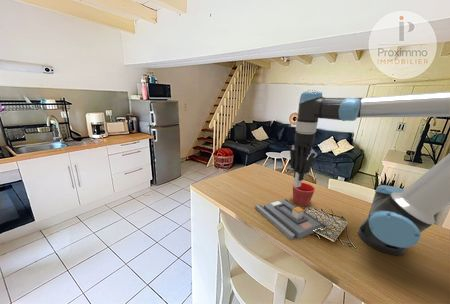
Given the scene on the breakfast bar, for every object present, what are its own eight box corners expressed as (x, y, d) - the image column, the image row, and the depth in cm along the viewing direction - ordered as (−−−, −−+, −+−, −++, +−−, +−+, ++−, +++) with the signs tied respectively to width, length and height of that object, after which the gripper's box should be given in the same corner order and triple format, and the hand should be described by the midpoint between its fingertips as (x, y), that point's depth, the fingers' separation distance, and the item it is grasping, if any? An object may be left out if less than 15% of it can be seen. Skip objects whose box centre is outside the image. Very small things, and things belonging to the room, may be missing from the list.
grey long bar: (296, 237, 75) (297, 234, 74) (290, 240, 74) (291, 236, 73) (259, 206, 95) (259, 203, 95) (254, 208, 94) (255, 205, 93)
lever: (302, 219, 82) (303, 210, 80) (296, 221, 80) (298, 211, 79) (296, 215, 84) (298, 206, 83) (291, 217, 83) (292, 208, 81)
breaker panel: (319, 229, 80) (321, 222, 79) (298, 239, 74) (299, 231, 73) (282, 204, 99) (283, 197, 97) (263, 210, 93) (264, 203, 92)
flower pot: (314, 209, 95) (317, 192, 92) (291, 206, 97) (294, 189, 94) (309, 199, 105) (312, 183, 102) (289, 196, 107) (291, 181, 104)
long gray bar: (325, 229, 80) (326, 225, 80) (321, 231, 79) (322, 227, 79) (285, 202, 101) (285, 199, 100) (281, 203, 99) (281, 200, 99)
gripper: (326, 134, 70) (316, 191, 76) (298, 129, 81) (291, 178, 87) (313, 136, 66) (303, 194, 73) (286, 130, 77) (279, 181, 84)
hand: (297, 186), depth 80 cm, fingers closed
